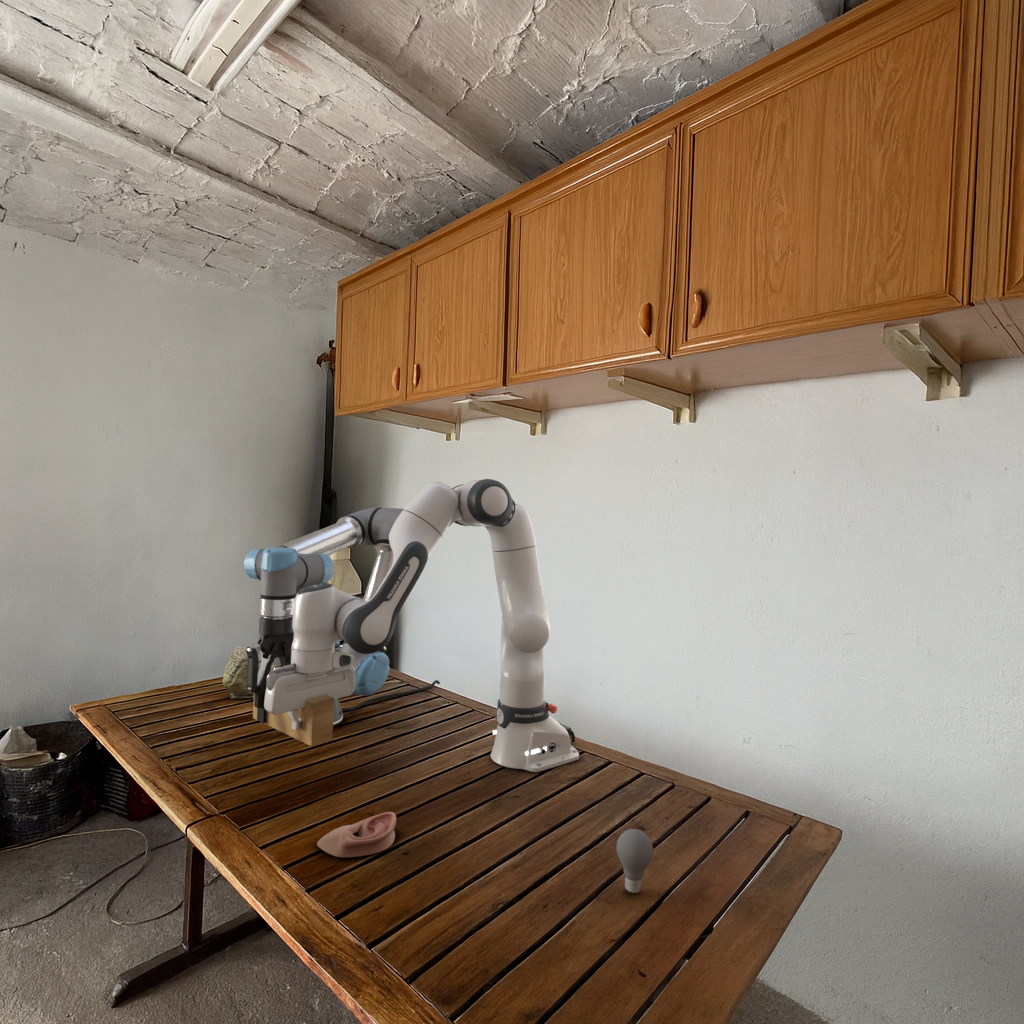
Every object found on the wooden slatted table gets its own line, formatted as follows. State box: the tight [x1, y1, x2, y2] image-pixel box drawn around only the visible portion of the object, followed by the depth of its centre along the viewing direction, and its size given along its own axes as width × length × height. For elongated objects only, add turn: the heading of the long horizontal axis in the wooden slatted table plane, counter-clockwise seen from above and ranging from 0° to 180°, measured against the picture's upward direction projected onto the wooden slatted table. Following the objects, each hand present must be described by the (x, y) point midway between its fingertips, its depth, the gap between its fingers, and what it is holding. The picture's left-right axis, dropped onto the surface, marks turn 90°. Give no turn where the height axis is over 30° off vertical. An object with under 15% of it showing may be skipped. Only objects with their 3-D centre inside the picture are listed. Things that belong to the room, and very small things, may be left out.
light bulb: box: [615, 828, 654, 894], centre depth 106 cm, size 6×6×10 cm
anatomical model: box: [316, 811, 397, 858], centre depth 117 cm, size 13×4×12 cm
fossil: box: [222, 646, 277, 699], centre depth 198 cm, size 9×18×15 cm, turn 132°
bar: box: [252, 683, 334, 747], centre depth 139 cm, size 23×5×9 cm, turn 51°
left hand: (273, 717), depth 144 cm, fingers closed on bar, 5 cm apart
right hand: (310, 724), depth 135 cm, fingers closed on bar, 5 cm apart
